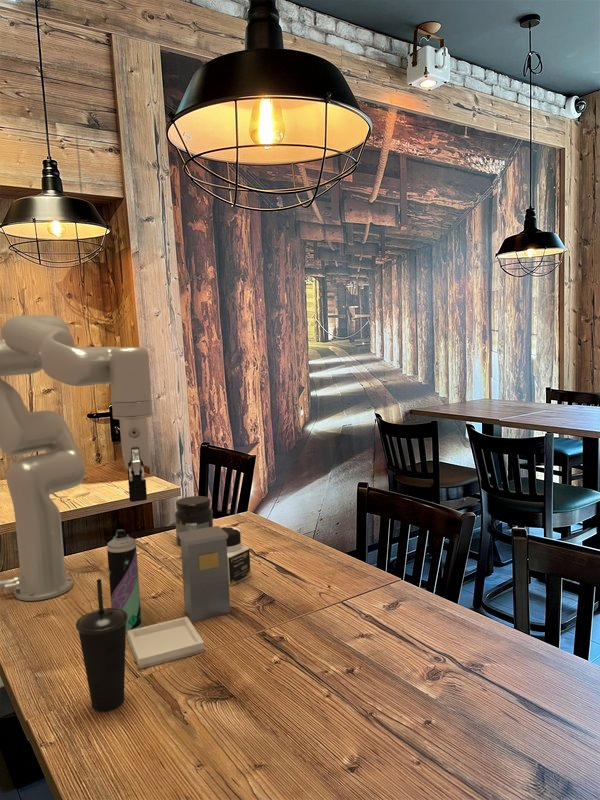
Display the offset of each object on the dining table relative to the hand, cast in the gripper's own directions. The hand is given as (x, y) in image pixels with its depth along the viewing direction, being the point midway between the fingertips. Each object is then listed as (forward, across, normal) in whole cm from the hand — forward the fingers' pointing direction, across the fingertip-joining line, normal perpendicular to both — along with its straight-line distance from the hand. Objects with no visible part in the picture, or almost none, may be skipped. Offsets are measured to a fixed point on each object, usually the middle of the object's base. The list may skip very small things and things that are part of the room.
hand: (137, 494), depth 119 cm
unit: (+26, -2, -12) cm, 29 cm away
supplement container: (+26, +44, -16) cm, 54 cm away
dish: (+26, -13, -3) cm, 29 cm away
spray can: (+26, -3, +4) cm, 27 cm away
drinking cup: (+26, -27, +7) cm, 39 cm away
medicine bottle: (+26, +14, -20) cm, 36 cm away
